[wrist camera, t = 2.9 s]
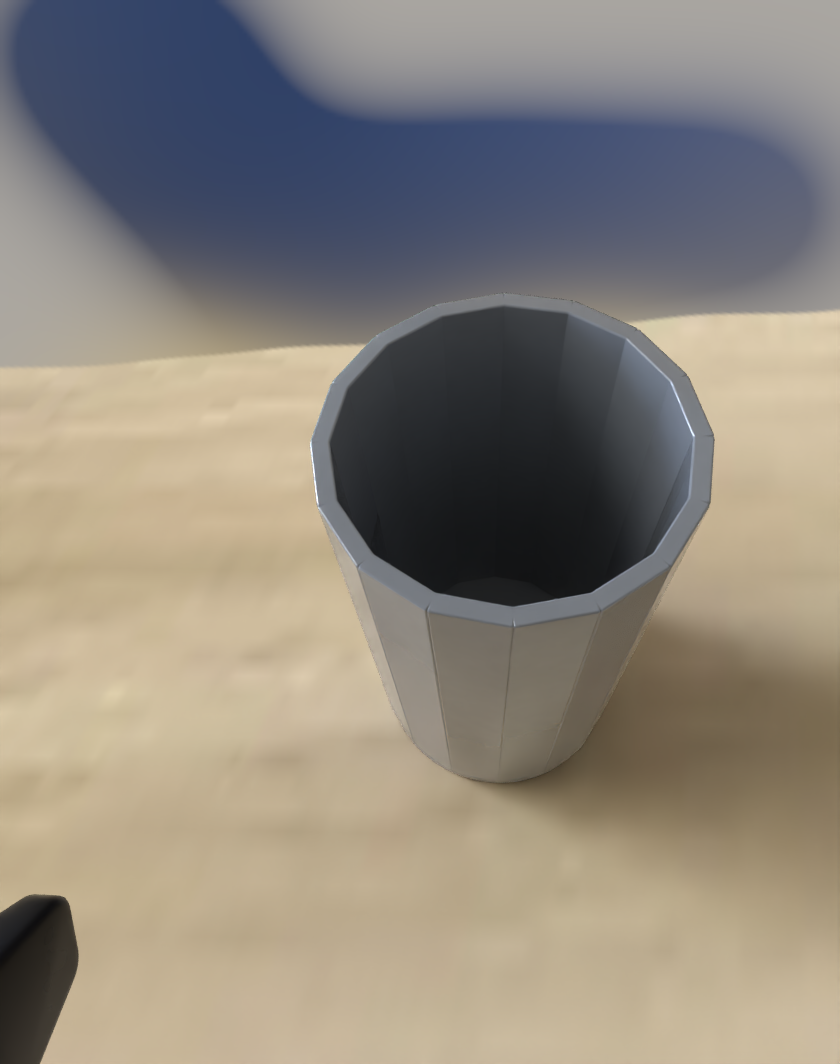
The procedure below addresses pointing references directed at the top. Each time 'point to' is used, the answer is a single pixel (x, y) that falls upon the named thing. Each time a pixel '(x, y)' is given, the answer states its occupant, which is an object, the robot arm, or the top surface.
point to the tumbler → (508, 517)
